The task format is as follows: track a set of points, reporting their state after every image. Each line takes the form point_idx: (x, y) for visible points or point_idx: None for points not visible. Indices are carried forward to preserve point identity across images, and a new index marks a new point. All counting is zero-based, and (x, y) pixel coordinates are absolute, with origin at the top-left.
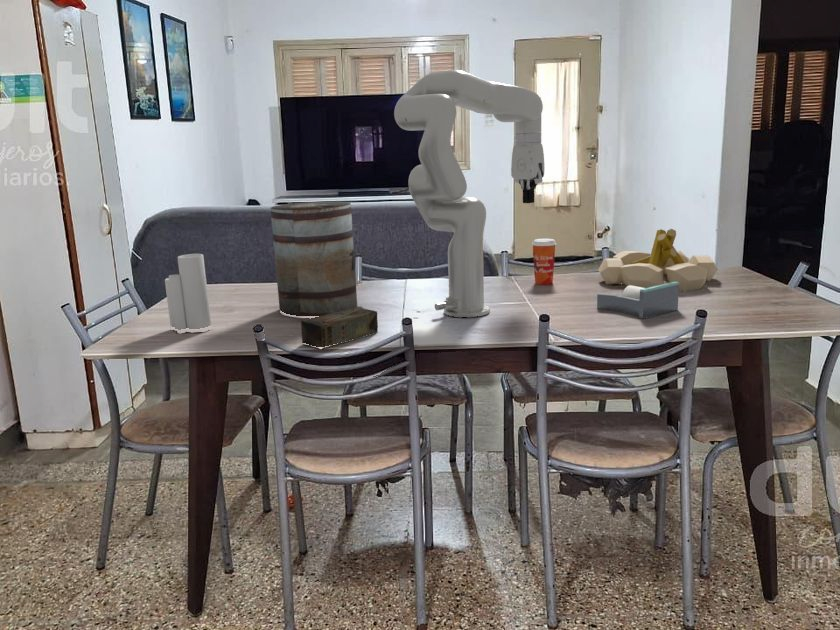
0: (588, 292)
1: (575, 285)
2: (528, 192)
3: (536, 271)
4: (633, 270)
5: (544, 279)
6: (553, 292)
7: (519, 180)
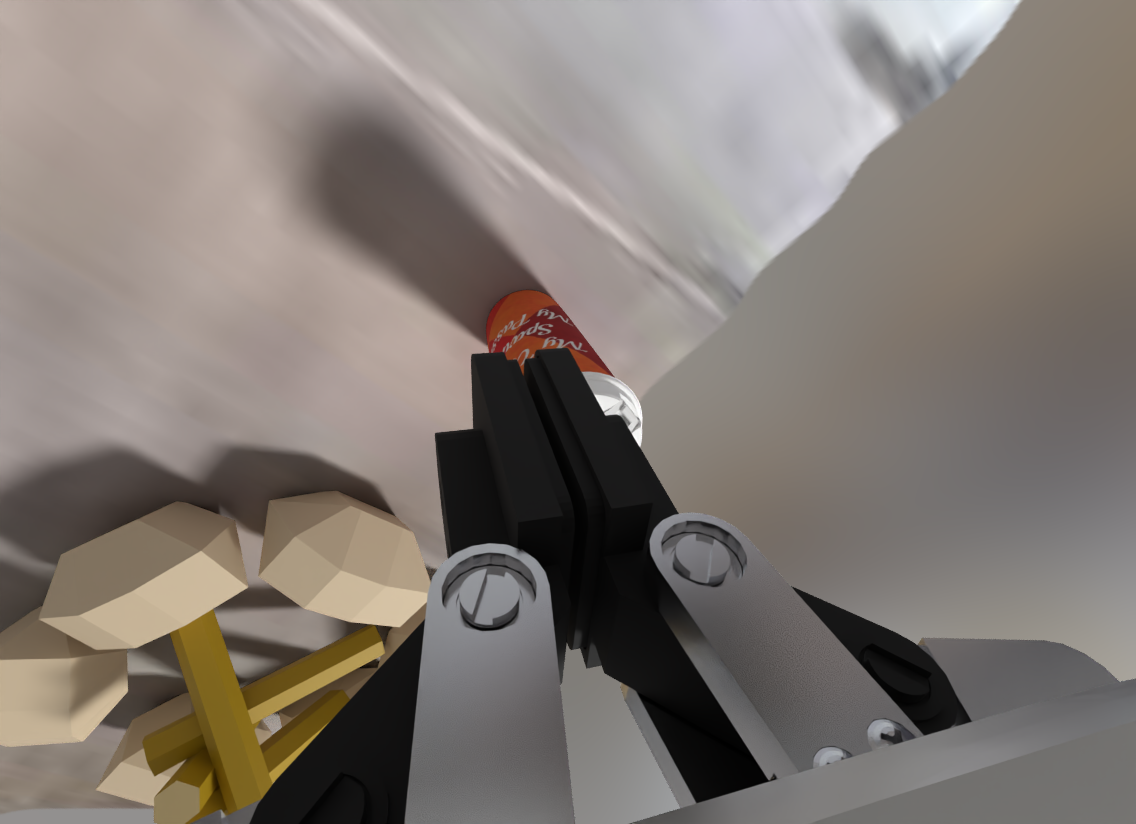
0: (219, 345)
1: (391, 392)
2: (497, 521)
3: (543, 312)
4: (131, 566)
5: (497, 315)
6: (323, 222)
7: (957, 711)
